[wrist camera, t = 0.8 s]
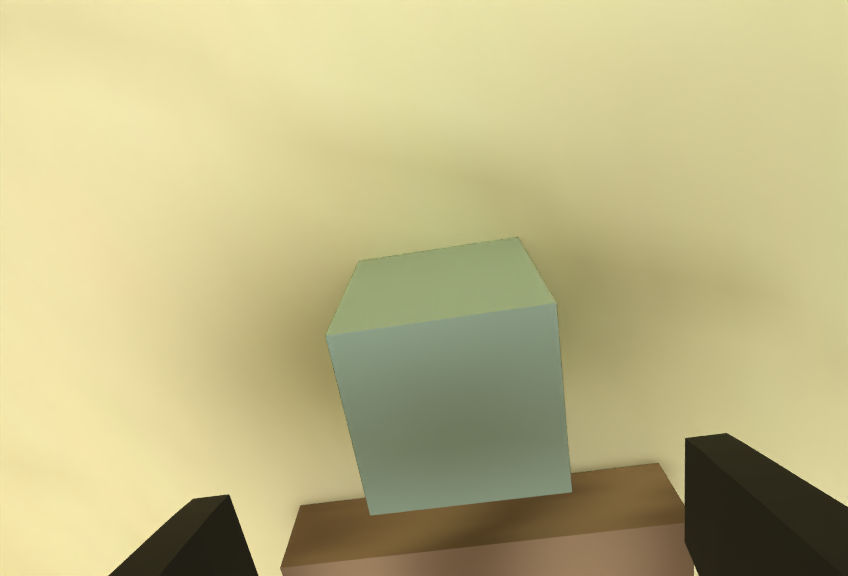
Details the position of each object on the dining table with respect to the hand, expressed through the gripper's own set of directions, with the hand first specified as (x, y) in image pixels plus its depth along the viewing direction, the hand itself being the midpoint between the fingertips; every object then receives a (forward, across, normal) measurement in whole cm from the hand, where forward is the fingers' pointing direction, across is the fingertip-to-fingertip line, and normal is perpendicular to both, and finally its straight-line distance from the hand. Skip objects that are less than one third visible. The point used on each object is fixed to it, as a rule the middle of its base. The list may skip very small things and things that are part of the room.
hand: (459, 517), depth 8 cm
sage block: (+8, 0, 0) cm, 8 cm away
